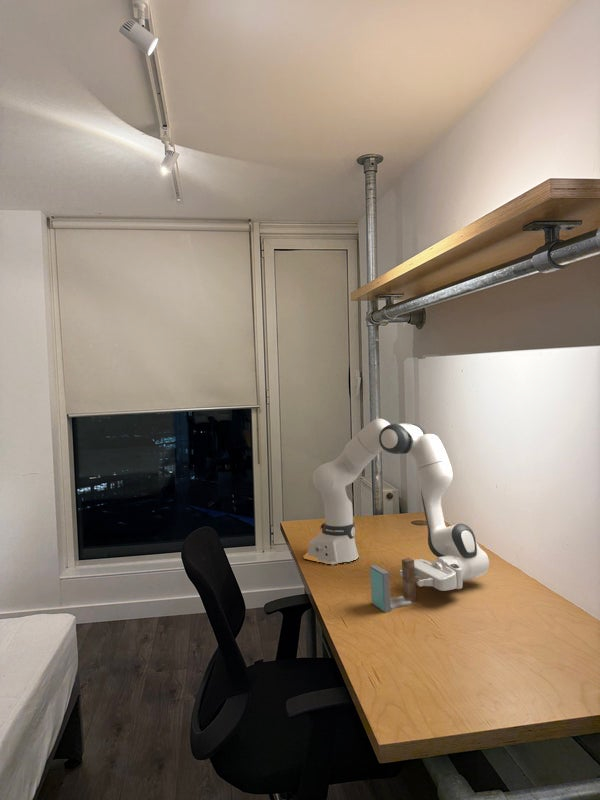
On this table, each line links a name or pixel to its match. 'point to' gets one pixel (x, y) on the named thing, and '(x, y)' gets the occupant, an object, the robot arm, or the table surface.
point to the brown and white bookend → (406, 585)
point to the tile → (380, 588)
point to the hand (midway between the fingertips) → (409, 578)
